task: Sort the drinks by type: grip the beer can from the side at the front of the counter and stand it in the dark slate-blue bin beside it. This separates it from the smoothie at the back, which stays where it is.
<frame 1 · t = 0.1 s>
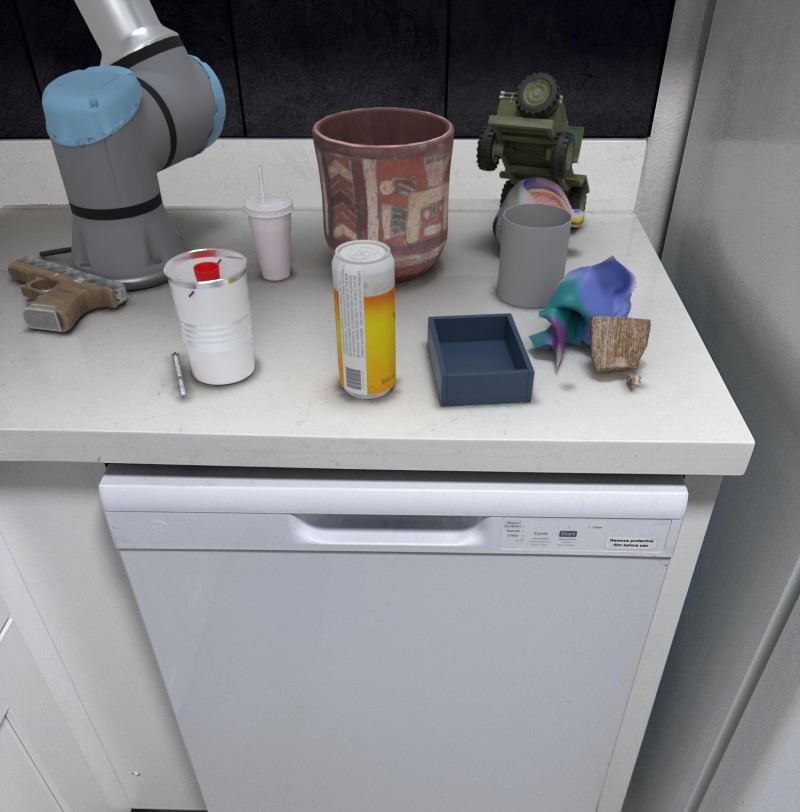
smoothie: (276, 276, 107), on the counter
stone: (605, 356, 89), point 1 cm above the counter
toy jeep: (527, 196, 111), point 7 cm above the counter, touching anatomical model
beer can: (368, 388, 85), on the counter
cup: (529, 295, 102), on the counter
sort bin: (476, 371, 87), on the counter
handgun: (0, 311, 96), point 1 cm above the counter
anatomical model: (544, 252, 112), on the counter, touching toy jeep
figurine: (603, 387, 85), on the counter
white ridged cylinder: (224, 370, 88), on the counter
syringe: (185, 372, 87), on the counter
figurine 2: (575, 341, 92), on the counter
pottery: (385, 268, 109), on the counter
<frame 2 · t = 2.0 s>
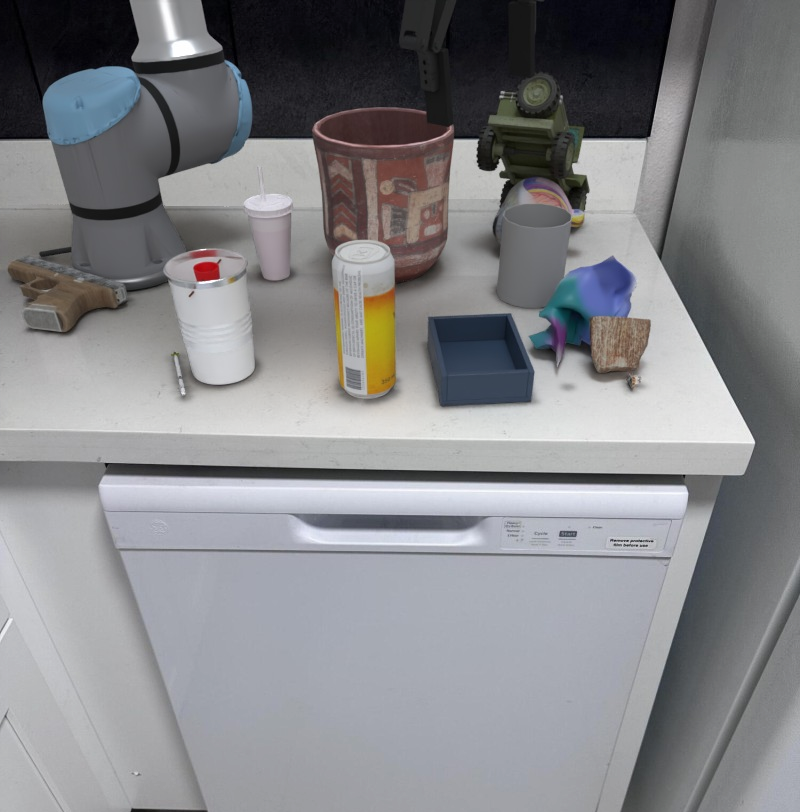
hand: (482, 99, 80), 25 cm above the counter, tool pointing down, fingers open, 13 cm apart
nothing on the counter moved.
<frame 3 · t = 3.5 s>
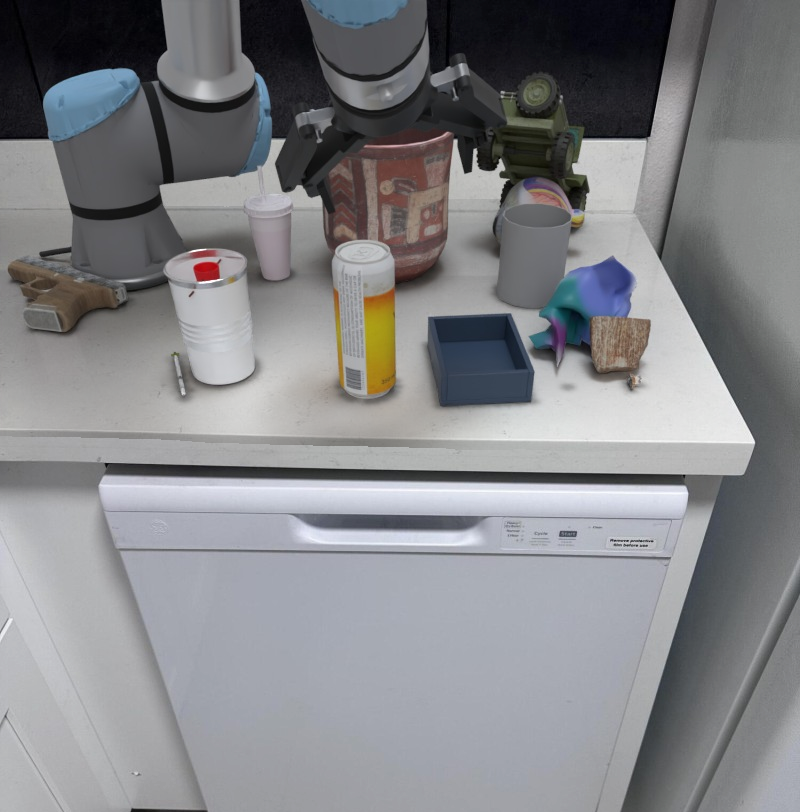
hand: (396, 179, 76), 20 cm above the counter, tool tilted 50°, fingers open, 13 cm apart
nothing on the counter moved.
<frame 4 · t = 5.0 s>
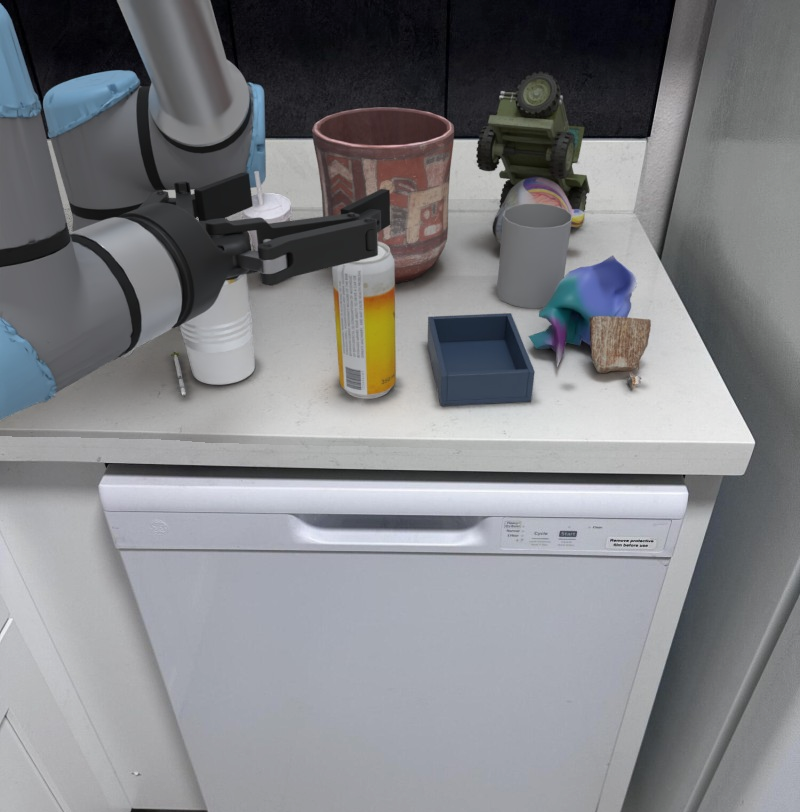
hand: (314, 197, 66), 22 cm above the counter, tool horizontal, fingers open, 13 cm apart
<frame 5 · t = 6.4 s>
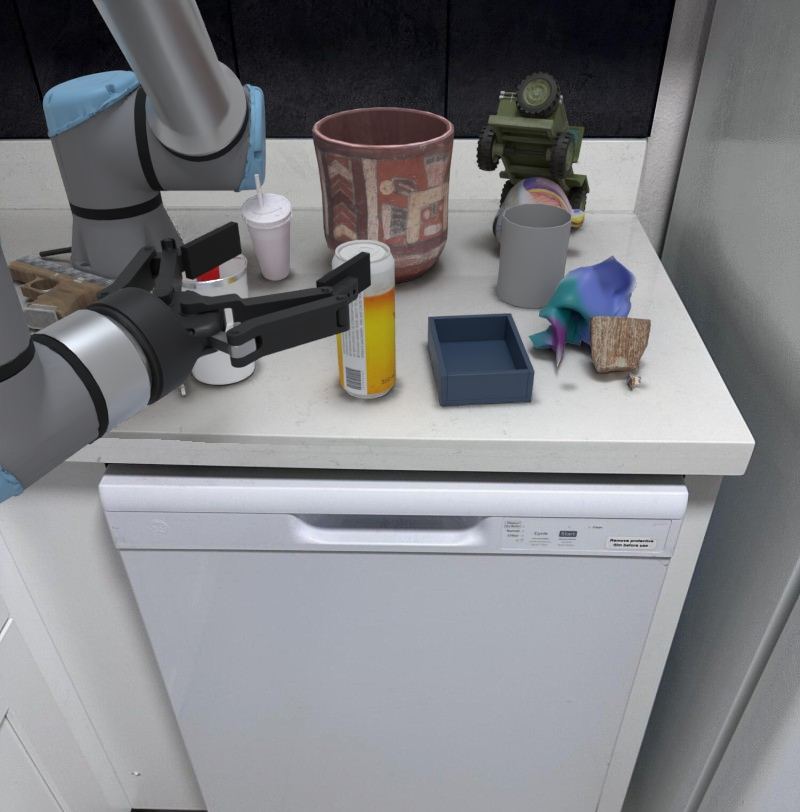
hand: (299, 252, 67), 18 cm above the counter, tool horizontal, fingers open, 13 cm apart
smoothie: (276, 272, 107), on the counter, touching arm
everything else where it was.
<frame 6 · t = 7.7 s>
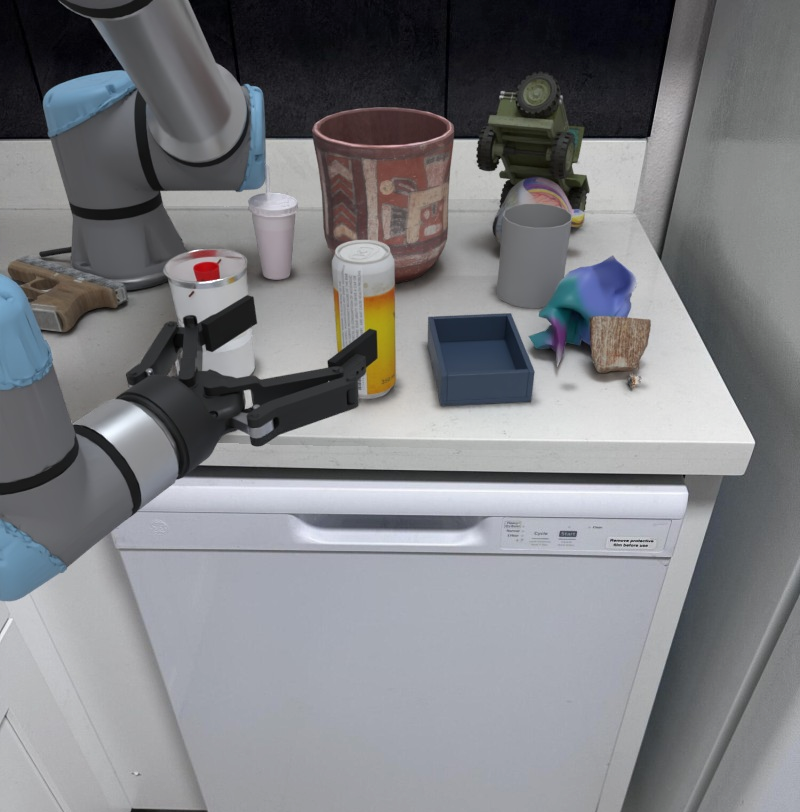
hand: (311, 325, 72), 11 cm above the counter, tool horizontal, fingers open, 13 cm apart
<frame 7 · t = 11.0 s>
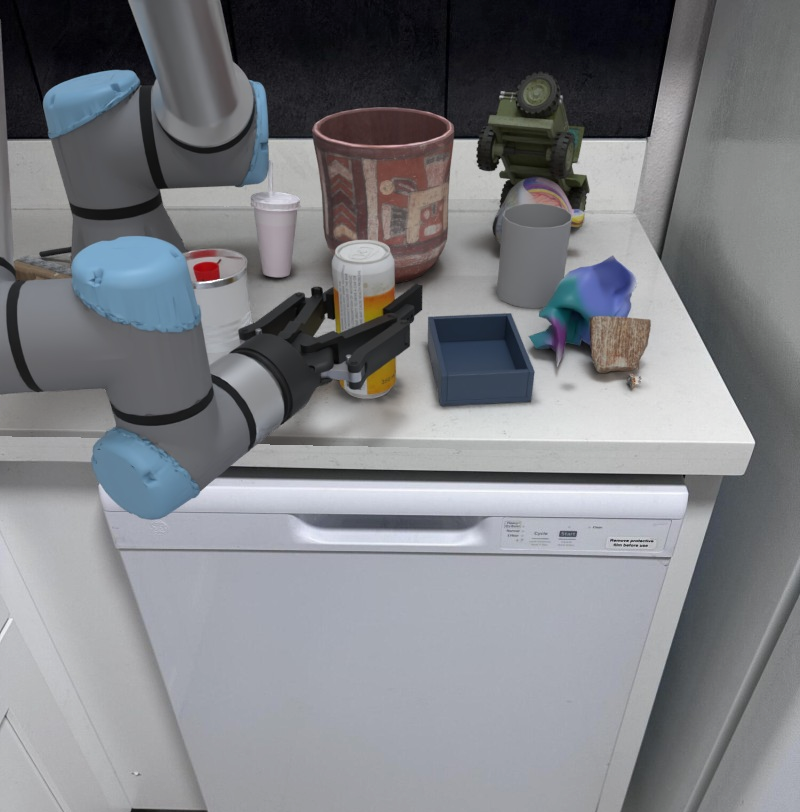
hand: (390, 289, 83), 9 cm above the counter, tool horizontal, fingers closed on beer can, 6 cm apart
beer can: (368, 388, 85), on the counter, touching gripper
when the fingers open (10 cm above the counter, at t = 20.6 s): beer can stays where it is, resting on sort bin.
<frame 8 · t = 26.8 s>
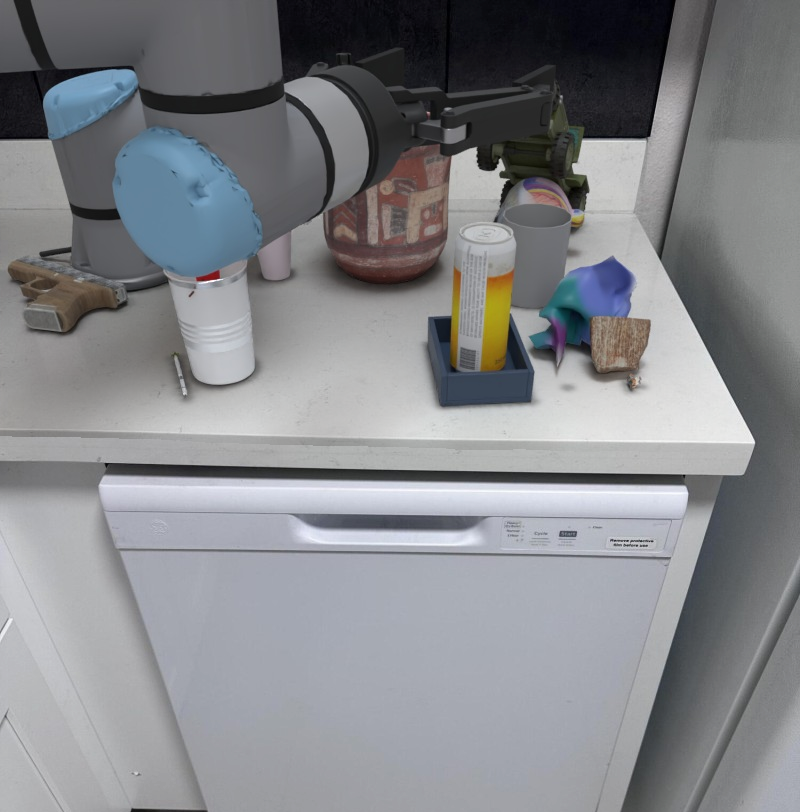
hand: (472, 74, 64), 30 cm above the counter, tool horizontal, fingers open, 13 cm apart
smoothie: (276, 276, 107), on the counter
beer can: (476, 368, 87), resting on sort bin
everything else where it was.
at the end: beer can inside the target area in the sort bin (0.1 cm from its centre), point 0.4 cm above the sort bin's base; beer can tilted 0°; smoothie moved 0.2 cm from its start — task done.
